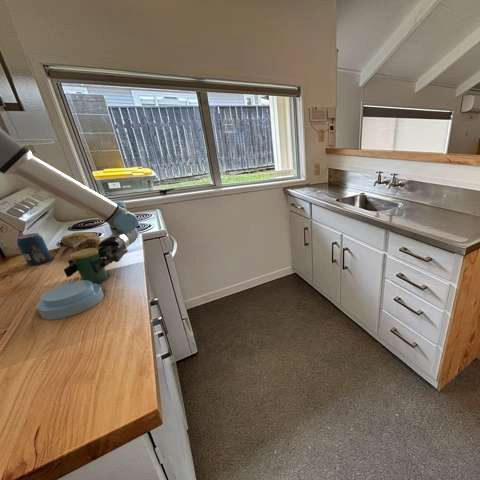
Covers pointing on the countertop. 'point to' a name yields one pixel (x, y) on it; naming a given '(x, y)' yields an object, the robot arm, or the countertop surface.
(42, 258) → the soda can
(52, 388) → the countertop surface
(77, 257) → the tea tin
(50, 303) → the upturned bowl
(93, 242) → the sponge
